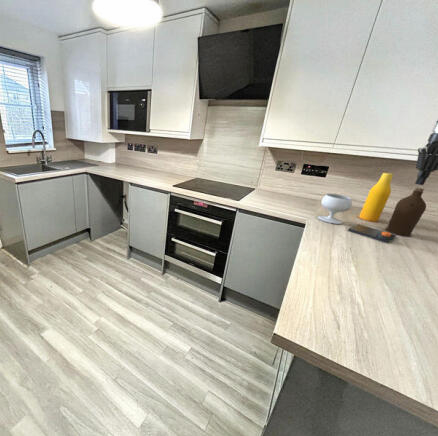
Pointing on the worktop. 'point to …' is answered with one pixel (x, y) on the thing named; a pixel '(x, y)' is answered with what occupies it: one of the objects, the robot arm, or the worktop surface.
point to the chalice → (335, 206)
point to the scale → (371, 233)
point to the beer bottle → (377, 199)
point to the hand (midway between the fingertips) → (419, 184)
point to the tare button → (386, 234)
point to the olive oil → (407, 214)
